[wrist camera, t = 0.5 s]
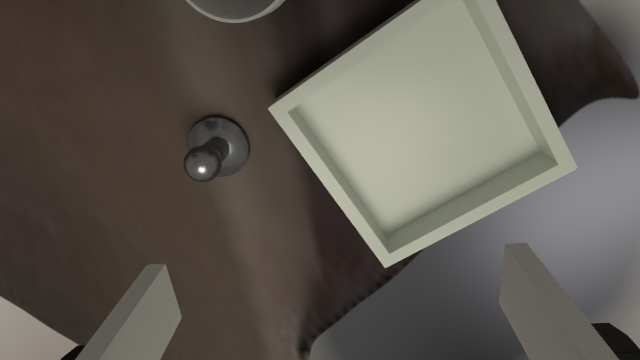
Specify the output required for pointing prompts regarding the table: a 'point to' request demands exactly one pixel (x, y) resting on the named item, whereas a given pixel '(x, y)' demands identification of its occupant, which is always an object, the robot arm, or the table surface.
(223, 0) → the cup
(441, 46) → the bin
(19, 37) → the table surface
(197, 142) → the stud post
